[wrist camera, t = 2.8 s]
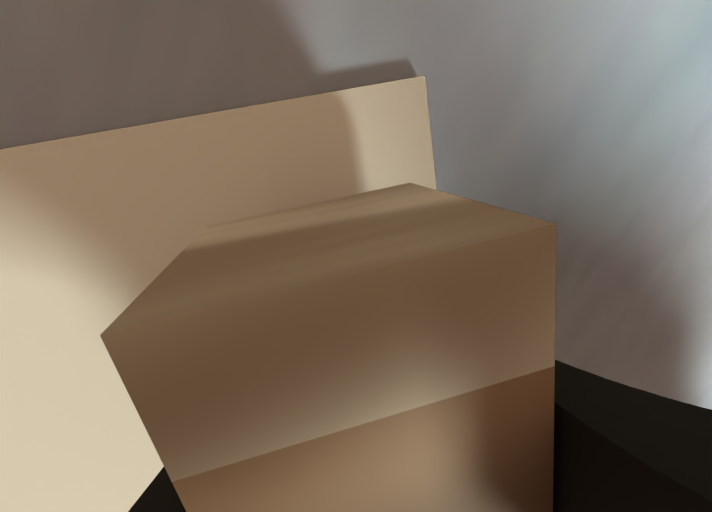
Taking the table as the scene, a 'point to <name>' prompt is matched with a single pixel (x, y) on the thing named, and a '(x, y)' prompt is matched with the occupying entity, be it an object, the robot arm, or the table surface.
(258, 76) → the table surface
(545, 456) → the two tone block
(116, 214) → the mat
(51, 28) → the table surface
